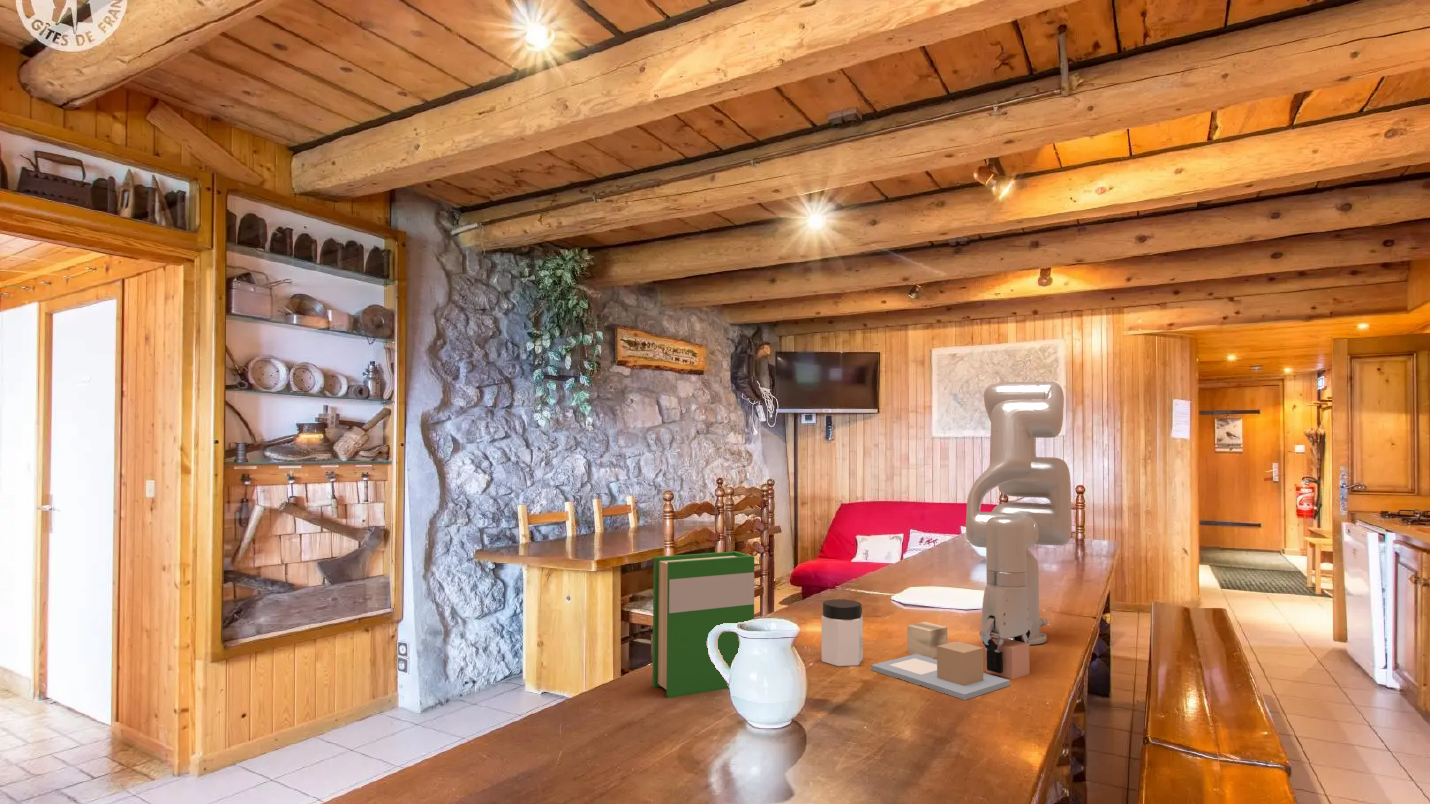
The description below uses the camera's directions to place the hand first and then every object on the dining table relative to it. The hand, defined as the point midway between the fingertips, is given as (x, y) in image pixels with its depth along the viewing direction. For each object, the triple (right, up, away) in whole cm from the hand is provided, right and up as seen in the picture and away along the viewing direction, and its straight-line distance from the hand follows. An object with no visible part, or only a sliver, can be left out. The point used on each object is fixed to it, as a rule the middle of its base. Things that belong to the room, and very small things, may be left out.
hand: (1007, 667), depth 154 cm
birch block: (-12, -2, +13) cm, 18 cm away
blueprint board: (-15, -1, -3) cm, 15 cm away
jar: (-32, -1, +8) cm, 33 cm away
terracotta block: (0, -1, 0) cm, 1 cm away
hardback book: (-61, 0, -9) cm, 61 cm away
